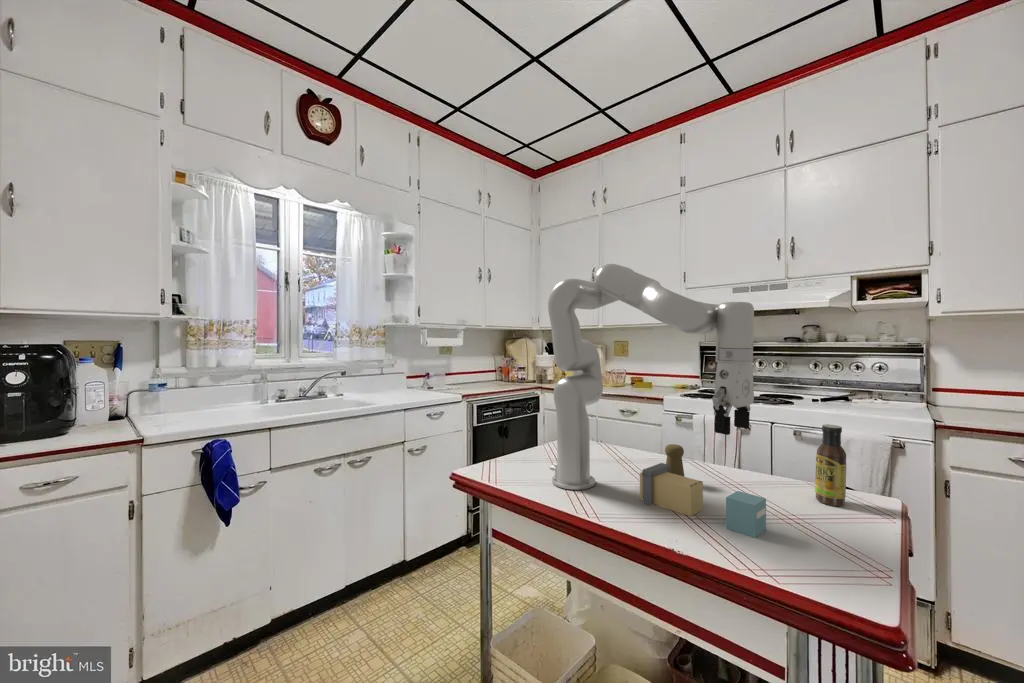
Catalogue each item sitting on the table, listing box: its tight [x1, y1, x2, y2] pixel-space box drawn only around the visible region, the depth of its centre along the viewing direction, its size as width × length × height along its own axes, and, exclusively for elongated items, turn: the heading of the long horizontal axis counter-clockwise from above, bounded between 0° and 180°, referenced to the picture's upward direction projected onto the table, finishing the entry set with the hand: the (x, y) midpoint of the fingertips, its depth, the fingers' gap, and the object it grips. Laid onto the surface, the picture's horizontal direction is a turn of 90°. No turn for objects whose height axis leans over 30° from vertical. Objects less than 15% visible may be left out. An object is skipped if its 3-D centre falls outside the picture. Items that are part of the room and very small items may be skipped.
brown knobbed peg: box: [664, 443, 686, 477], centre depth 124 cm, size 6×6×11 cm
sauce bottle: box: [814, 423, 847, 507], centre depth 108 cm, size 6×6×20 cm
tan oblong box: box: [639, 462, 704, 517], centre depth 108 cm, size 14×9×9 cm, turn 39°
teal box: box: [725, 490, 767, 539], centre depth 94 cm, size 6×6×7 cm
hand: (732, 430), depth 97 cm, fingers open, 9 cm apart
